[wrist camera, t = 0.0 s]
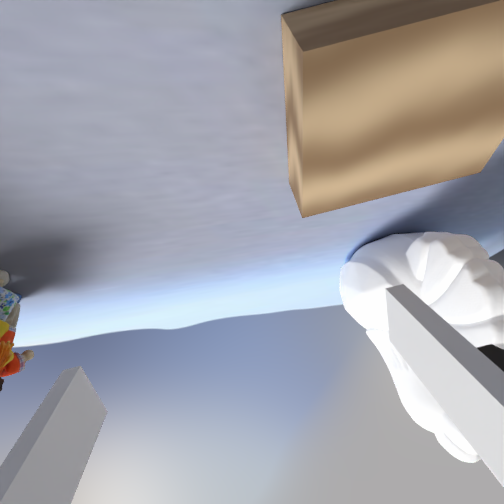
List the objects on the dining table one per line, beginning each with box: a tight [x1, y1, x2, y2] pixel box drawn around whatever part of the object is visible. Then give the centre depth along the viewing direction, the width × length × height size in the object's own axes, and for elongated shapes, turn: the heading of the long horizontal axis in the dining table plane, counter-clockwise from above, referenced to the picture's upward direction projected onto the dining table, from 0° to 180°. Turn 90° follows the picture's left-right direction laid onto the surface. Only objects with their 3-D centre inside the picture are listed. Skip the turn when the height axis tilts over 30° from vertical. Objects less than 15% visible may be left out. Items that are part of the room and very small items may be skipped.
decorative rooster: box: [339, 232, 504, 463], centre depth 34 cm, size 25×16×25 cm, turn 177°
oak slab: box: [281, 0, 504, 218], centre depth 21 cm, size 13×15×4 cm
